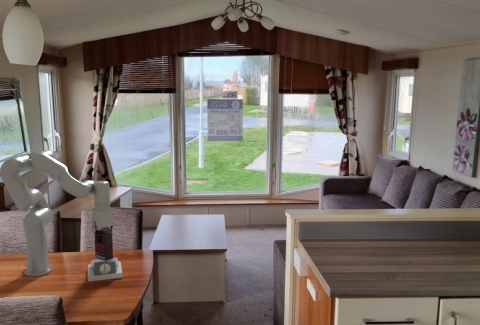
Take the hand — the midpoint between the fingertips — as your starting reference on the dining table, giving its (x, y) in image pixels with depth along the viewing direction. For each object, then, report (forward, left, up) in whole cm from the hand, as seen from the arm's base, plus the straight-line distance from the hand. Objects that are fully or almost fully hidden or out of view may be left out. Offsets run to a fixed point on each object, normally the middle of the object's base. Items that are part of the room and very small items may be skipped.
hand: (103, 240), depth 218 cm
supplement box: (0, 0, -10) cm, 10 cm away
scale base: (+1, -1, -17) cm, 17 cm away
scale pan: (0, 0, -13) cm, 13 cm away
